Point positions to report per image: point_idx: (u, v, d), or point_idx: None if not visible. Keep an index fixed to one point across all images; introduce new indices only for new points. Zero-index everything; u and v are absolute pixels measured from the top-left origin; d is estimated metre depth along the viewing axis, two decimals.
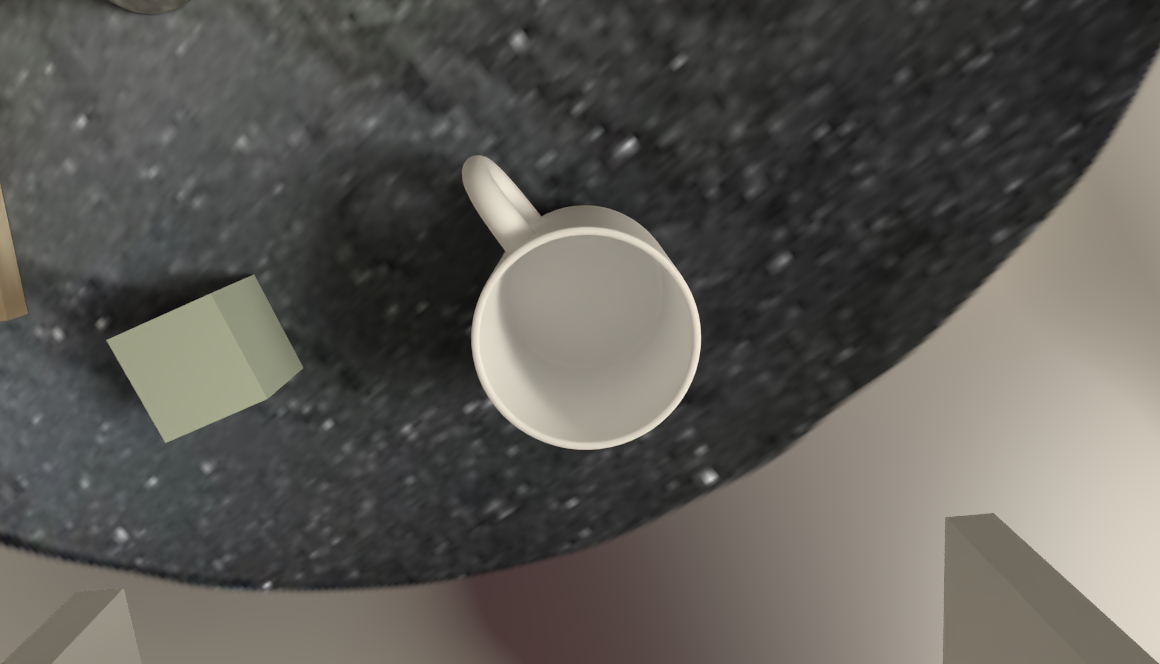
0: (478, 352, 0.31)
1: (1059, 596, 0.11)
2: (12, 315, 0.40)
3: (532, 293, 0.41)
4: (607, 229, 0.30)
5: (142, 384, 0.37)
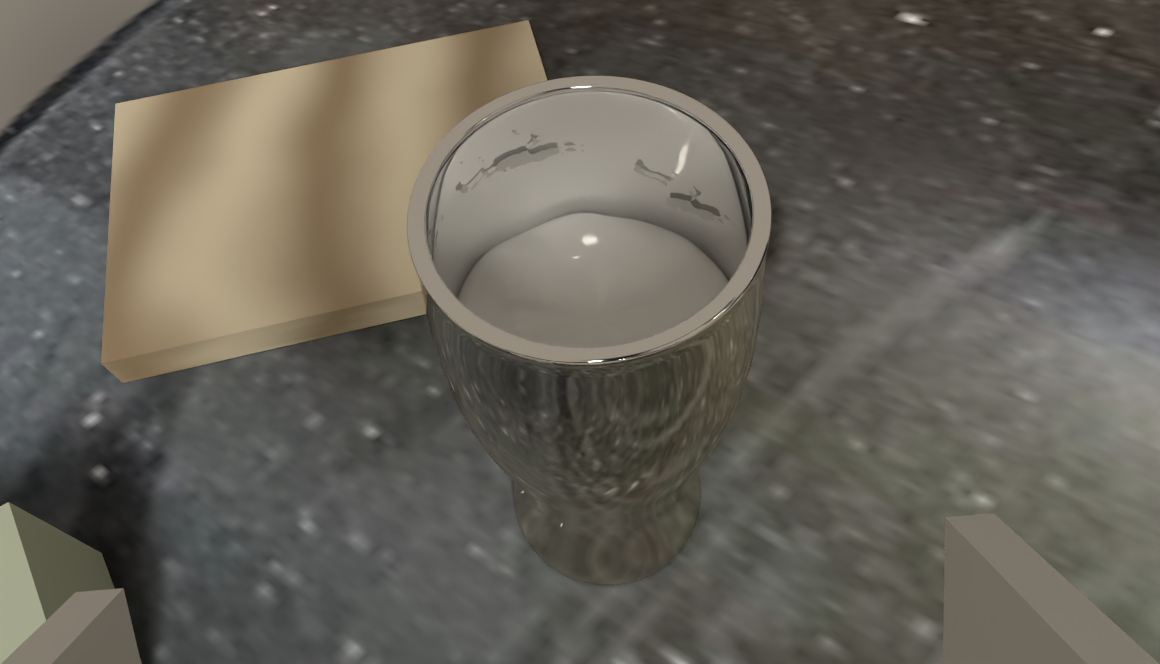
0: None
1: (1059, 596, 0.11)
2: (111, 368, 0.30)
3: None
4: None
5: None
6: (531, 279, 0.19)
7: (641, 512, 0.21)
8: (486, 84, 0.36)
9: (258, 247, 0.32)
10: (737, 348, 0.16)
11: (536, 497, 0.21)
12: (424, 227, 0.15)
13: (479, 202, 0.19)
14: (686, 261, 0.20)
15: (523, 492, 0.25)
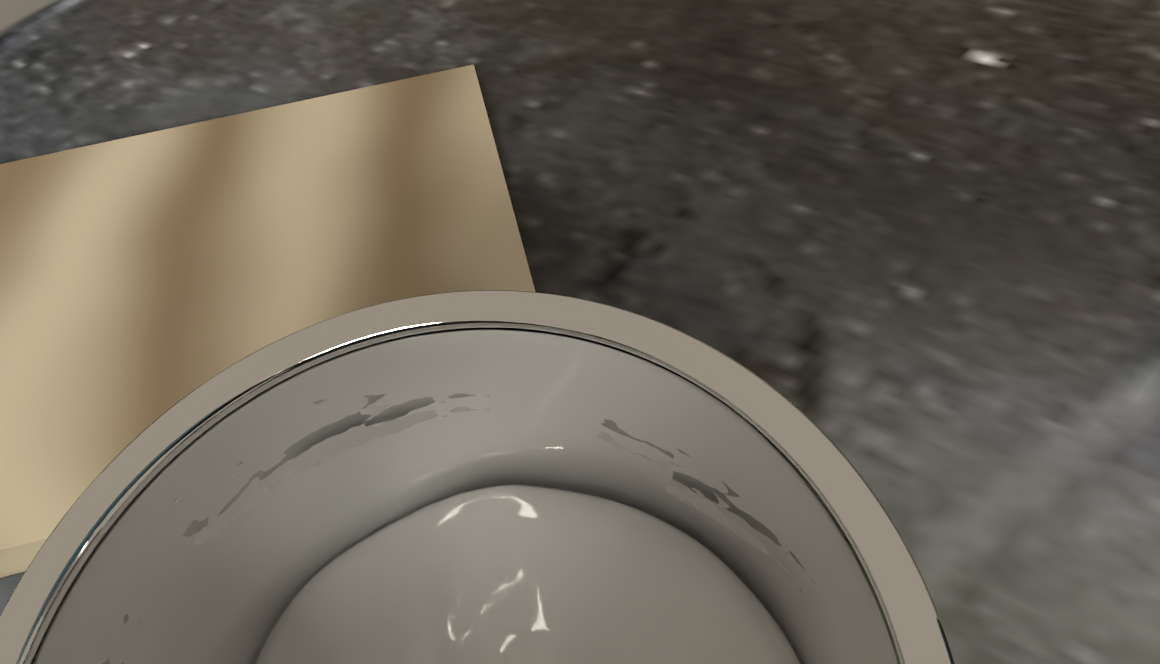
0: None
1: None
2: None
3: None
4: None
5: None
6: (389, 660, 0.09)
7: None
8: (412, 156, 0.26)
9: (72, 403, 0.22)
10: None
11: None
12: None
13: (268, 522, 0.09)
14: (707, 614, 0.10)
15: None
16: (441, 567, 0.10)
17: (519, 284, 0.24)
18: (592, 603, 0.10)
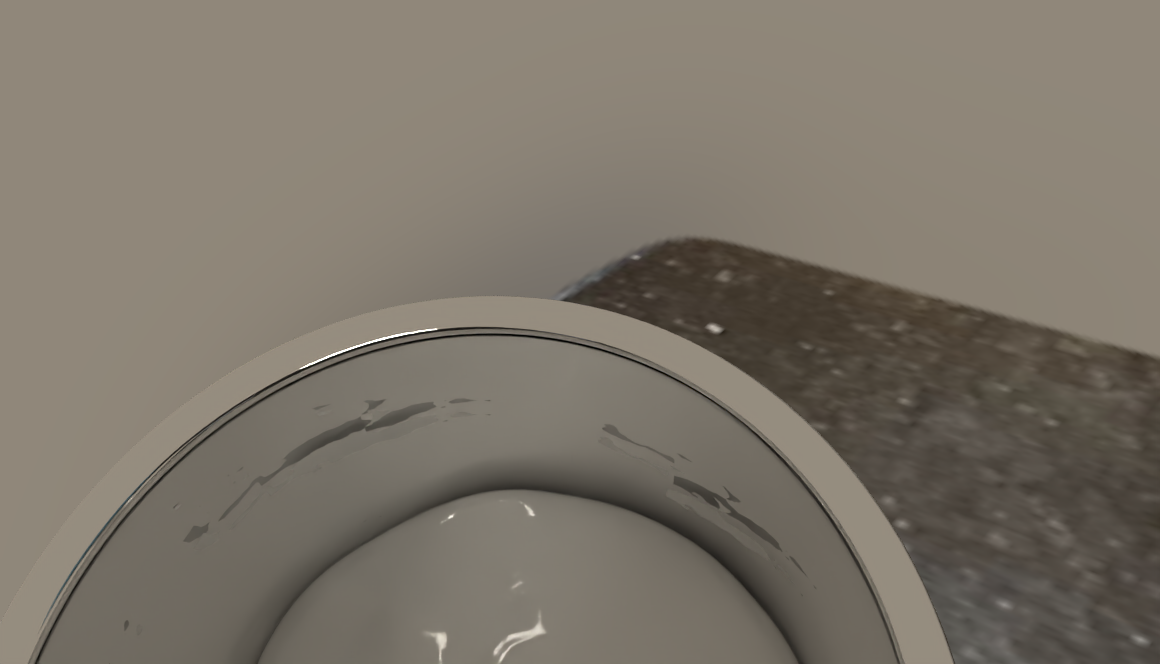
0: None
1: None
2: None
3: None
4: None
5: None
6: None
7: None
8: None
9: None
10: None
11: None
12: None
13: (269, 528, 0.09)
14: (708, 619, 0.10)
15: None
16: (442, 572, 0.10)
17: None
18: (593, 608, 0.10)
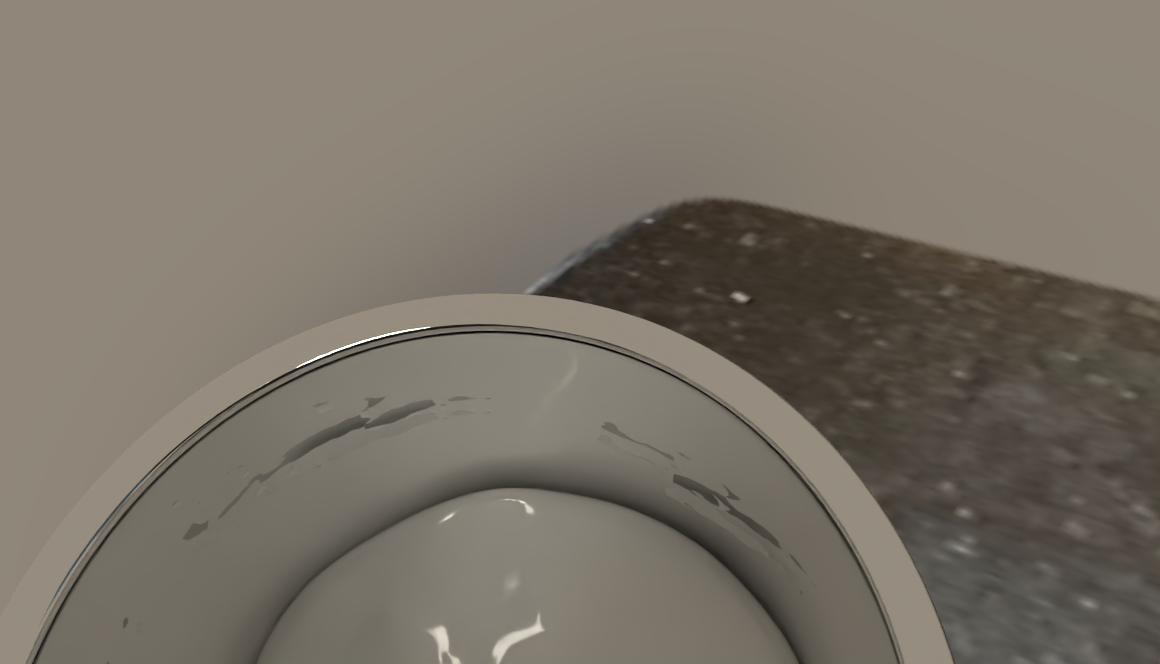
0: None
1: None
2: None
3: None
4: None
5: None
6: (389, 663, 0.09)
7: None
8: None
9: None
10: None
11: None
12: None
13: (268, 525, 0.09)
14: (707, 617, 0.10)
15: None
16: (441, 570, 0.10)
17: None
18: (592, 606, 0.10)
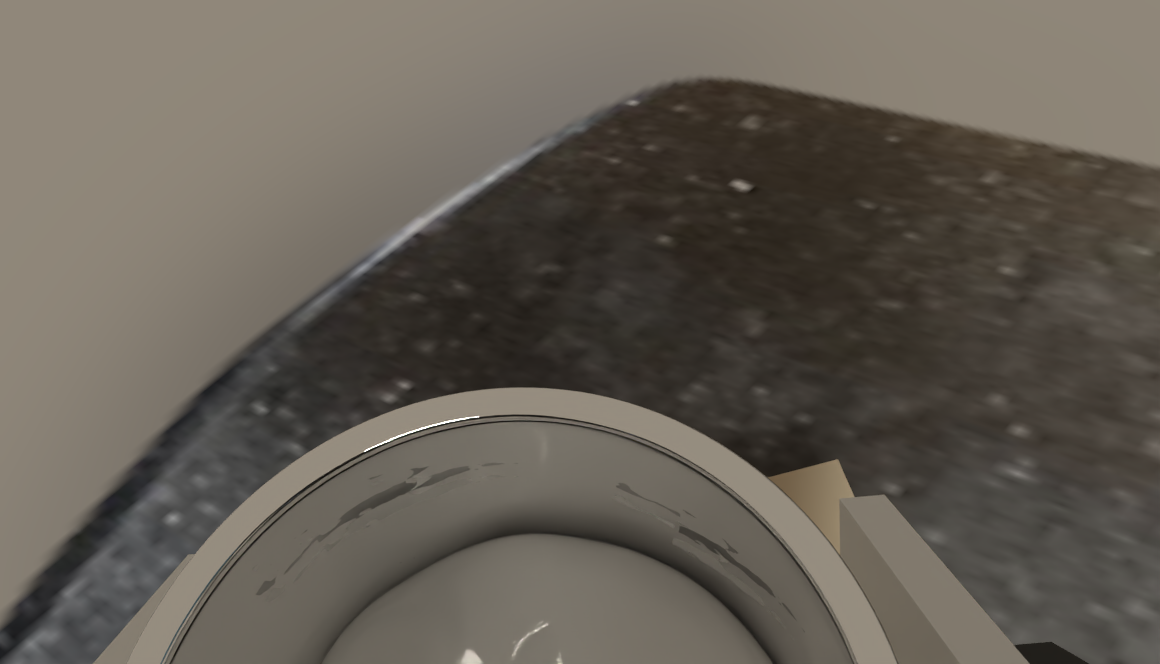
0: None
1: (924, 567, 0.12)
2: None
3: None
4: None
5: None
6: None
7: None
8: None
9: None
10: None
11: None
12: None
13: (323, 576, 0.10)
14: (710, 654, 0.11)
15: None
16: (471, 610, 0.11)
17: None
18: (607, 644, 0.11)
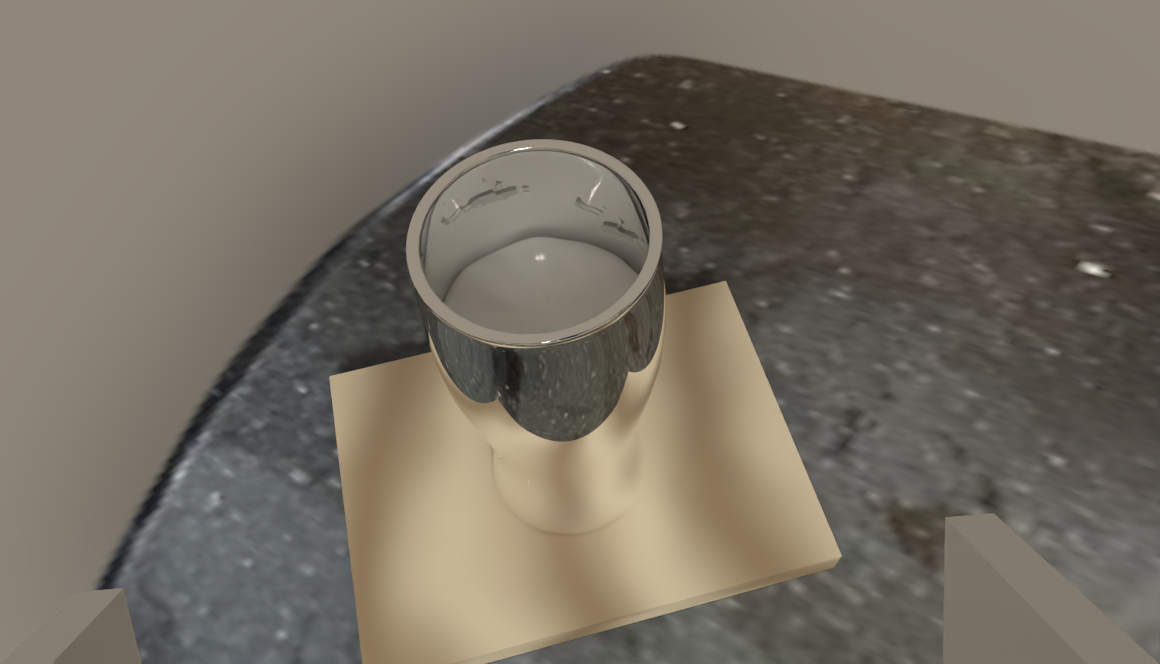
0: None
1: (1059, 596, 0.11)
2: None
3: None
4: None
5: None
6: (499, 287, 0.26)
7: (587, 466, 0.28)
8: (695, 357, 0.37)
9: (500, 549, 0.33)
10: (642, 334, 0.22)
11: (506, 454, 0.27)
12: (418, 251, 0.22)
13: (459, 231, 0.25)
14: (615, 272, 0.26)
15: (499, 457, 0.31)
16: (515, 261, 0.26)
17: (791, 461, 0.34)
18: (573, 270, 0.26)
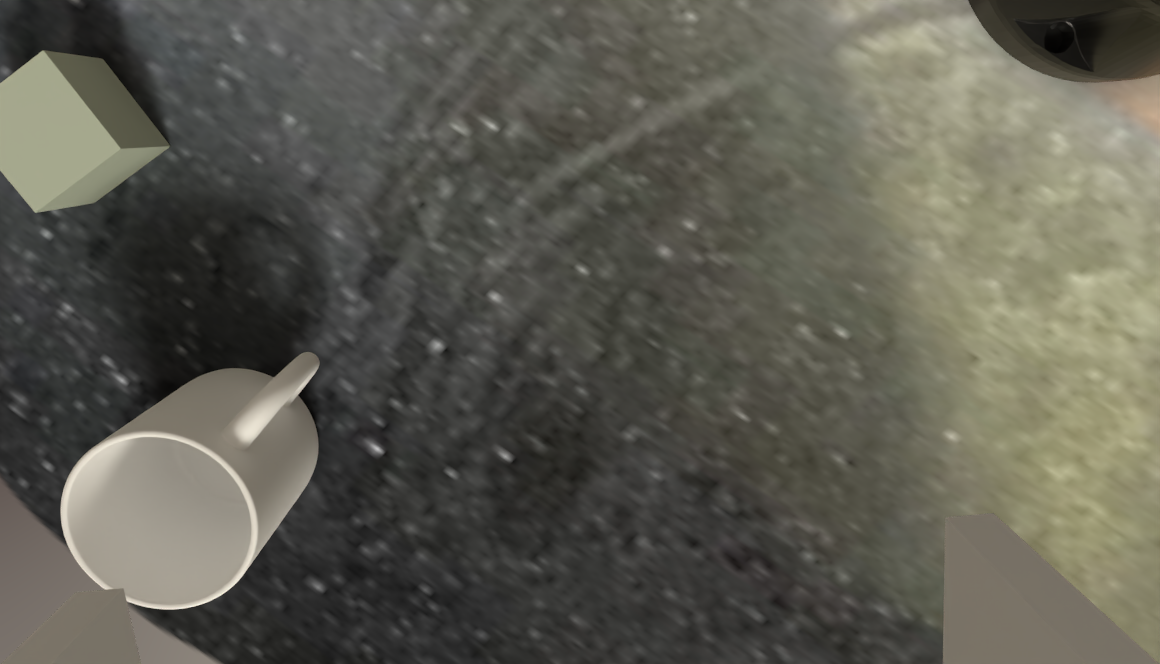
0: (121, 440, 0.36)
1: (1059, 596, 0.11)
2: None
3: None
4: (256, 520, 0.37)
5: (9, 89, 0.37)
6: None
7: None
8: None
9: None
10: None
11: None
12: None
13: None
14: None
15: None
16: None
17: None
18: None
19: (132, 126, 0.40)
